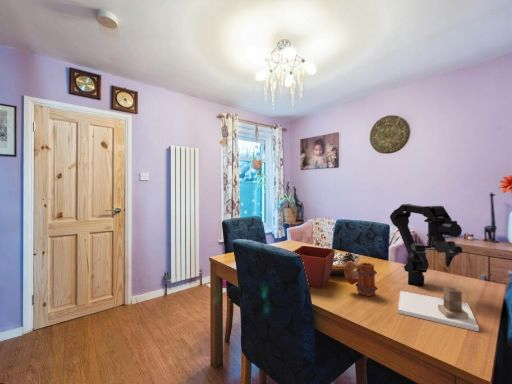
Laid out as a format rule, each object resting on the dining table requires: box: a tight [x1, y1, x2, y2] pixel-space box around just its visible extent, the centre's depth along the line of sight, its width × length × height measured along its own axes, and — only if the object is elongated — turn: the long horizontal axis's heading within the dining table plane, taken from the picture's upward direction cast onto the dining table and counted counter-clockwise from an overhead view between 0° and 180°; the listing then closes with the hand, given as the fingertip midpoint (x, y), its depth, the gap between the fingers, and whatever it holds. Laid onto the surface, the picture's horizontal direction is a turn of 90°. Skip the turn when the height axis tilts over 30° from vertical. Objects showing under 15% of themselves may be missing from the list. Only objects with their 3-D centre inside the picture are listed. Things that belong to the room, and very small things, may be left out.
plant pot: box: [292, 245, 336, 289], centre depth 129 cm, size 19×19×17 cm
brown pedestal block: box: [438, 286, 468, 319], centre depth 92 cm, size 7×6×10 cm
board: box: [397, 290, 480, 332], centre depth 98 cm, size 24×20×2 cm
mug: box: [343, 260, 378, 297], centre depth 115 cm, size 15×8×15 cm, turn 71°
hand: (436, 266), depth 112 cm, fingers open, 9 cm apart
